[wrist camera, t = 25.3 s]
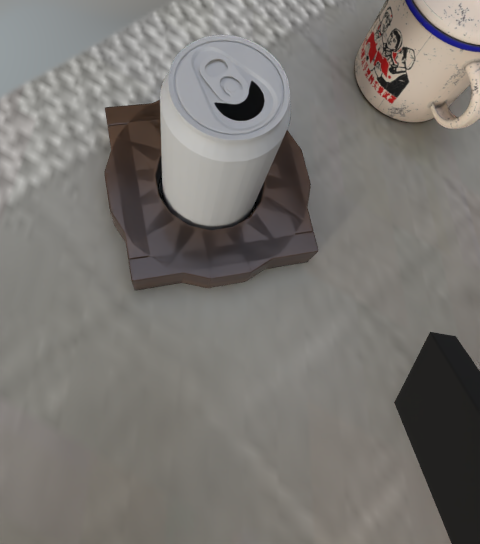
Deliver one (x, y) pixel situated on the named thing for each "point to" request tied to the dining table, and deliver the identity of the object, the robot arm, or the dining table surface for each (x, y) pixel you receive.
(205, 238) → the socket pad
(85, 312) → the dining table surface
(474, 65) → the teacup with lid
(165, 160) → the beverage can
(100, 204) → the dining table surface
